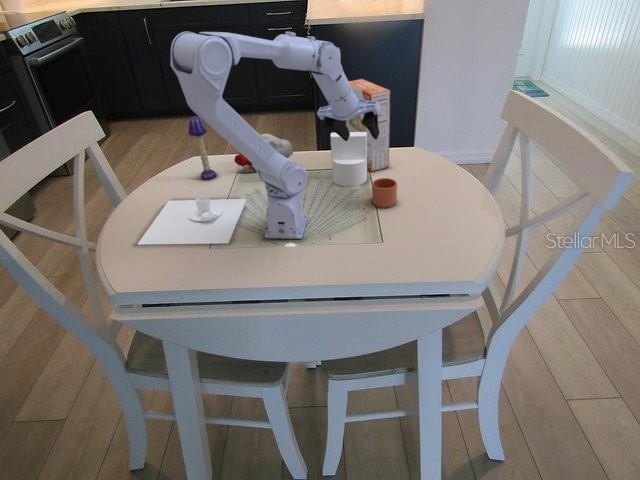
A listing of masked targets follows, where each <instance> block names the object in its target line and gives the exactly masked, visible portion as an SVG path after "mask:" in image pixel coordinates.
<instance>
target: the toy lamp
mask: <svg viewBox="0 0 640 480" xmlns="http://www.w3.org/2000/svg"><path fill="white" fill-rule="evenodd" d="M207 133H208V129H207V127H206V124H205V123H204V120H203V119H202V118H200V117H199V116H198V115H194V116H191V117H189V119H188V134H189V136H192V137H195V138H196V143H197V145H198V146H197V148H198V150H199V155H200V160H201V164H202V169H203V171H202V172H201V174H200V180H203V181H209V180H210V181H211V180H214V179H215V178H216V177H217V173H216V171H215V170H214V169H211V166H210V162H209V157H208V155H207V154H208V153H207V149H206V144H205V139H204V136H203V135H206V134H207Z"/></svg>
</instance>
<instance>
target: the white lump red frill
mask: <svg viewBox="0 0 640 480" xmlns="http://www.w3.org/2000/svg"><path fill="white" fill-rule="evenodd" d="M259 135H260V136H261V137H262V138H263V139H264V140H265V141H266V142H267V143H268V144H270V145H271V146H272V147H273V148H274V149H275V150H276V151H277V152H278V153H280V154H281V155H283V156H284V157H286V158H287V159H289V158H290V157H291V156H292V155H293V154H294V149H293V147H294V146H293V145H292V143H291V141H290V140H288V139H285V138H282V139H281V138H278V137H277V136H274V134H270V133H262V134H261V133H260V134H259ZM234 163H235V164H236V165H237V166H240V167H245V166H250V167H253V166H252V162H250V161H249V160H248V159H247V158H246V157H245V156H244V155H242V154H241V153H240V152H239V153H238V154H236V155H235V156H234Z"/></svg>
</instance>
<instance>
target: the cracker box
mask: <svg viewBox="0 0 640 480" xmlns="http://www.w3.org/2000/svg"><path fill="white" fill-rule="evenodd" d="M348 82H349V84H350V86H351V88H352V90H353V92H354V94H355V95H356V98H359V99H364V100H369V101H378V102H379V104H380V106H381V109H380V112H379V114H378V127H379V132H380V133H379V136H378V138H377V139H374V138H373V137H372V135H371V133H370V131H369V130H368V129H367V128H366V127H365V126H364V125H363V124H362V123H361V122H362V120H363V117H364V114H361V115H359V116H356V117H353V118H350V119H347V120H345V124H346V126H347V128H348V130H349V132H367V171H370V172H377V171H380V170H384V169H387V168H389V167H390V128H391V127H390V125H391V124H390V123H391V121H390V119H391V118H390V117H391V90H390V89H388V88H386V87H382V86H380V85H377V84H375V83H373V82H370V81H368V80H366V79H364V78H360V79H355V80H348Z"/></svg>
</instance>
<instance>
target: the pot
mask: <svg viewBox="0 0 640 480" xmlns="http://www.w3.org/2000/svg"><path fill="white" fill-rule="evenodd" d="M397 198H398V182H397V181H396V180H395V179H392V178H389V177H382V178H381V177H380V178H377V179H374V181H372V183H371V202H372V203H373V205H374V206H376V207H377V208H383V209H387V208H391V207H393V206H394V205H396V203H397Z"/></svg>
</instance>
